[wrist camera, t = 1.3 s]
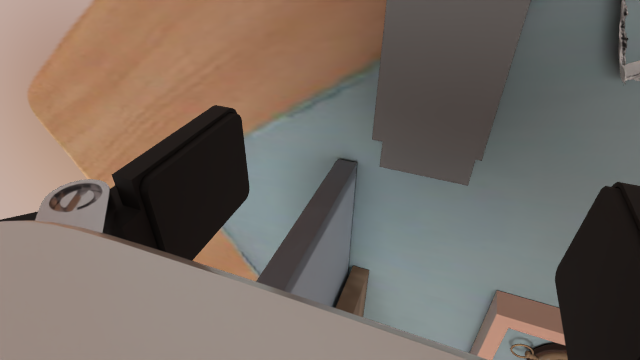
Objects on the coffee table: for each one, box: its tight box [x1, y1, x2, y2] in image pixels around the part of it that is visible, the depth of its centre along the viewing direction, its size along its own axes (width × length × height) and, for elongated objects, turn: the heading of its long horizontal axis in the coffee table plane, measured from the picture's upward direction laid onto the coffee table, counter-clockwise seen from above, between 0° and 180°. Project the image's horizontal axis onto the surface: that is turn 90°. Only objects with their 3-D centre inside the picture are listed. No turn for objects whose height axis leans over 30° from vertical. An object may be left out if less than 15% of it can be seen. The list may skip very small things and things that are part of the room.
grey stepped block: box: [372, 0, 531, 186], centre depth 22 cm, size 6×13×6 cm, turn 179°
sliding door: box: [256, 159, 357, 308], centre depth 28 cm, size 2×16×18 cm, turn 179°
